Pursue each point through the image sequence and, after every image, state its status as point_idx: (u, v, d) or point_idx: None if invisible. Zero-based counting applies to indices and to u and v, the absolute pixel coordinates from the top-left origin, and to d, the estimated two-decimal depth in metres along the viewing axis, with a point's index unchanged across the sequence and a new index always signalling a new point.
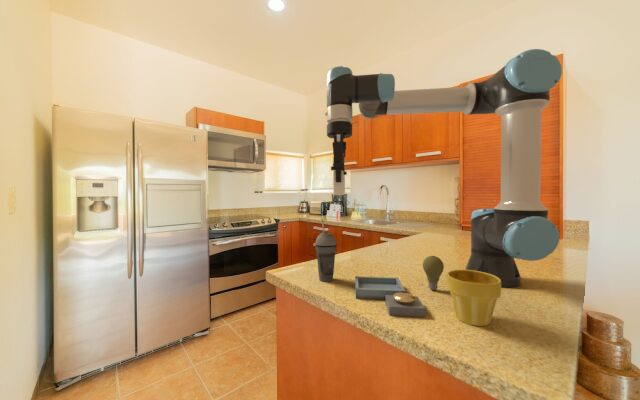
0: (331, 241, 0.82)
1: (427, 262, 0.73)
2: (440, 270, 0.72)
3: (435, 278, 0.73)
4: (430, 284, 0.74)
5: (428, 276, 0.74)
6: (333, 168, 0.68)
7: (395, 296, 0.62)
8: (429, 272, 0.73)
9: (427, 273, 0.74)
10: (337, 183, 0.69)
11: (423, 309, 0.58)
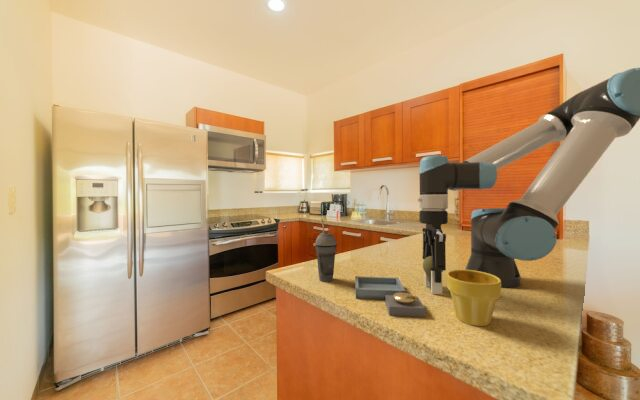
0: (331, 241, 0.81)
1: (427, 262, 0.73)
2: None
3: None
4: (430, 284, 0.74)
5: (428, 276, 0.74)
6: (433, 270, 0.70)
7: (395, 296, 0.62)
8: (429, 272, 0.73)
9: (427, 273, 0.74)
10: None
11: (423, 309, 0.58)
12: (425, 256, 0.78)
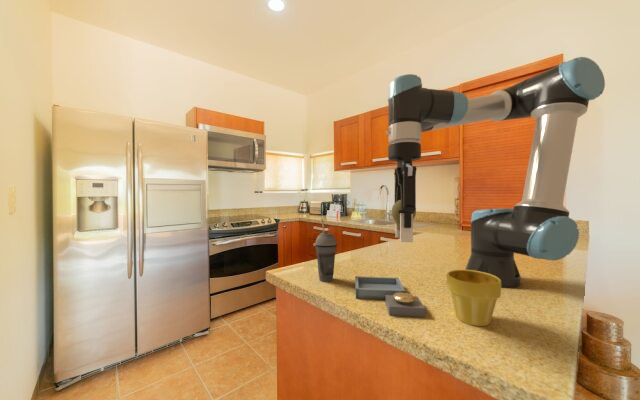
0: (331, 241, 0.81)
1: (396, 206, 0.61)
2: None
3: None
4: None
5: (397, 223, 0.61)
6: (402, 212, 0.58)
7: (395, 296, 0.62)
8: (398, 217, 0.60)
9: (396, 219, 0.61)
10: (405, 228, 0.59)
11: (423, 309, 0.58)
12: None
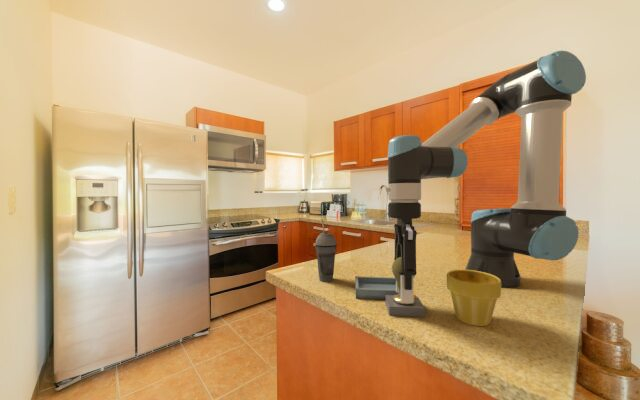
0: (331, 241, 0.81)
1: (396, 265, 0.61)
2: None
3: None
4: (400, 291, 0.61)
5: (398, 281, 0.61)
6: (402, 274, 0.58)
7: (395, 298, 0.62)
8: (398, 276, 0.60)
9: (396, 278, 0.61)
10: None
11: (423, 309, 0.58)
12: (396, 257, 0.65)
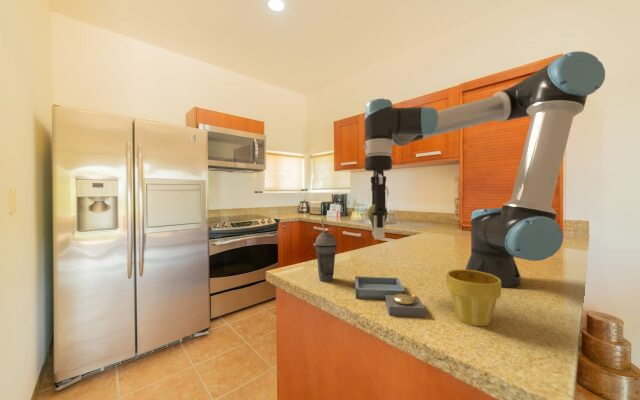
0: (331, 241, 0.81)
1: (371, 209, 0.72)
2: None
3: None
4: None
5: (372, 223, 0.73)
6: (375, 214, 0.69)
7: (395, 298, 0.62)
8: (372, 218, 0.71)
9: (371, 220, 0.72)
10: (378, 228, 0.70)
11: (423, 309, 0.58)
12: None
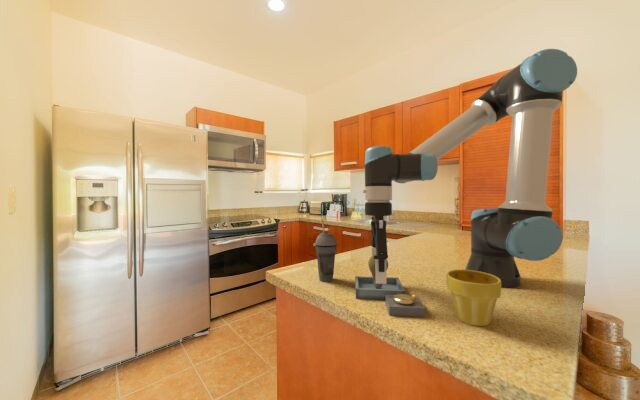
0: (331, 241, 0.82)
1: (371, 260, 0.72)
2: None
3: None
4: (375, 282, 0.73)
5: (372, 274, 0.73)
6: (376, 257, 0.65)
7: (395, 298, 0.62)
8: (373, 270, 0.72)
9: (371, 271, 0.73)
10: (380, 272, 0.66)
11: (423, 309, 0.58)
12: (372, 242, 0.80)
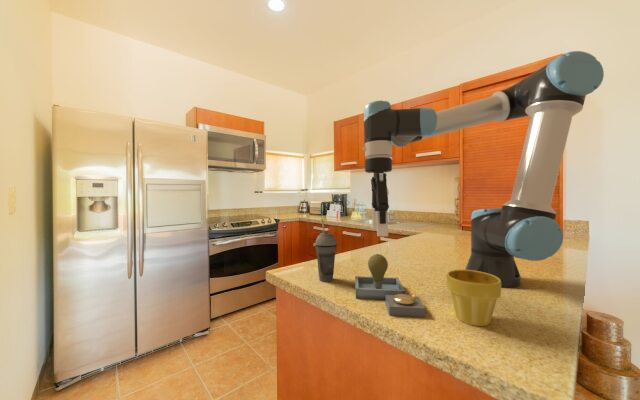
0: (331, 241, 0.81)
1: (371, 261, 0.72)
2: (383, 269, 0.71)
3: (379, 277, 0.72)
4: (374, 283, 0.73)
5: (372, 275, 0.73)
6: (377, 209, 0.65)
7: (395, 298, 0.62)
8: (373, 270, 0.72)
9: (371, 272, 0.73)
10: (381, 224, 0.66)
11: (423, 309, 0.58)
12: (372, 202, 0.80)
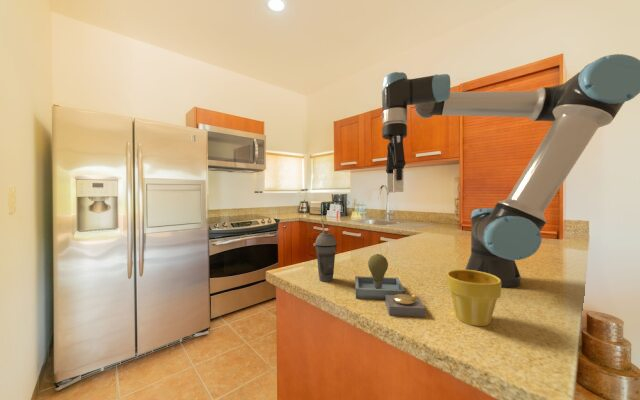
0: (331, 241, 0.82)
1: (371, 261, 0.72)
2: (383, 269, 0.71)
3: (379, 277, 0.72)
4: (374, 283, 0.73)
5: (372, 275, 0.73)
6: (394, 167, 0.73)
7: (395, 298, 0.62)
8: (373, 270, 0.72)
9: (371, 272, 0.73)
10: (397, 181, 0.74)
11: (423, 309, 0.58)
12: (387, 168, 0.88)
